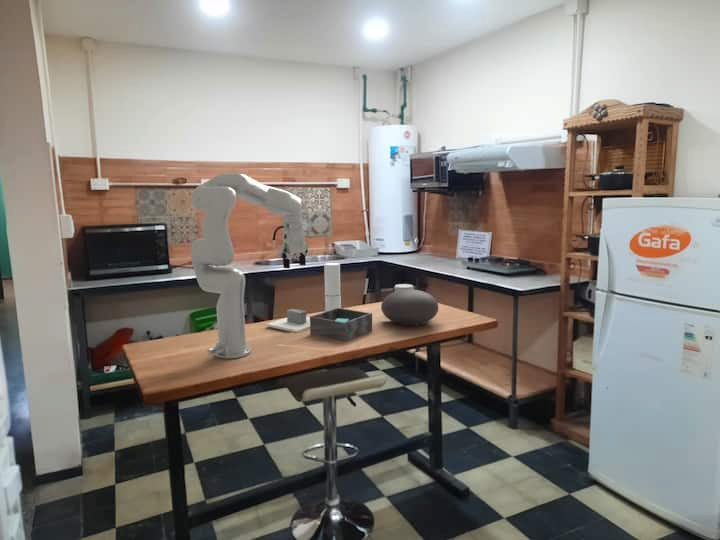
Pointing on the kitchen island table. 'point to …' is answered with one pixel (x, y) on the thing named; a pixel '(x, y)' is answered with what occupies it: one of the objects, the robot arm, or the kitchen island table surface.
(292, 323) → the lid
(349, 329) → the box
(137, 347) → the kitchen island table surface
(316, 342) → the kitchen island table surface
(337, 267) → the tall white block
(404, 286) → the coffee cup
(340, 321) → the teal block
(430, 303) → the squat round vase
